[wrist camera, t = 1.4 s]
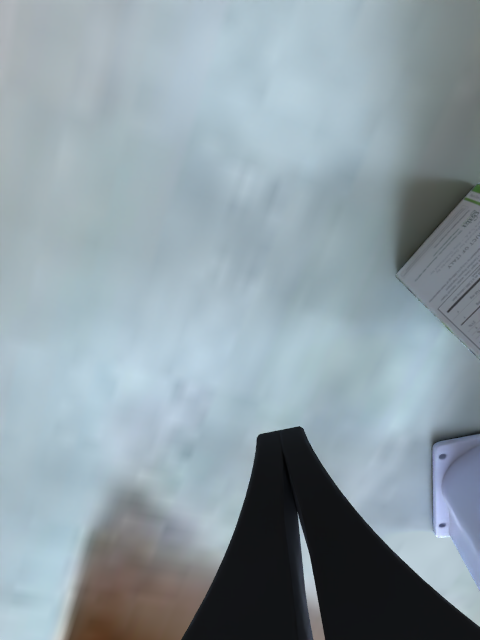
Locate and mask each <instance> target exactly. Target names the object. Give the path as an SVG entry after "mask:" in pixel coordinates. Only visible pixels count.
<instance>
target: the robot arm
mask: <svg viewBox="0 0 480 640" xmlns="http://www.w3.org/2000/svg"><path fill="white" fill-rule="evenodd" d="M440 454H441V455H440ZM432 455H433V531H434V533H435V535H436V536H437V537H440V538H442V537H448V536H450V537H451V539H452V540H453V542H454V544H455V546H456V548H457V550H458V552H459V553H460V555H461V557H462V559H463V561H464V563H465V565H466V567H467V568H468V570H469V572H470V574H471V576H472V578H473V580H474V581H475V583H476V585H477V587H478V589H479V591H480V434H476V435H471V436H465V437H460V438H455V439H450V440H444V441H439V442H437V443H435V444H434V446H433V448H432ZM297 512H298V514H297ZM298 515H299V519H300V522H301V526H302V529H303V533H304V536H305V540H306V543H307V547H308V550H309V554H310V558H311V564H312V569H313V575H314V580H315V585H316V591H317V596H318V602H319V607H320V613H321V618H322V624H323V630H324V635H325V640H480V627H479V626H478V625H476V624H475V623H474V622H473V621H471V620H470V619H469V618H468V617H466V616H465V615H464V614H463V613H461V612H460V611H459V610H458V609H457V608H455V607H454V606H453V605H452V604H451V603H449V602H448V601H447V600H446V599H445V598H443V597H442V596H441V595H440V594H439V593H438V592H437V591H435V590H434V589H433V588H432V587H431V586H430V585H429V584H427V583H426V582H425V581H424V580H423V579H422V578H421V577H420V576H419V575H418V574H417V573H415V572H414V571H413V570H412V569H411V568H410V567H409V566H408V565H407V564H406V563H405V562H404V561H403V560H402V559H401V558H400V557H399V556H398V555H397V554H396V553H394V552H393V551H392V550H391V549H390V548H389V547H388V545H387V544H386V543H385V542H384V541H383V540H382V539H381V538H380V537H379V536H378V535H377V534H376V533H375V532H374V531H373V529H372V528H371V527H370V526H369V525H368V524H367V523H366V522H365V521H364V519H363V518H362V517H361V516H360V515H359V514H358V512H357V511H356V510H355V509H354V508H353V506H352V505H351V504H350V503H349V501H348V500H347V499H346V497H345V496H344V495H343V494H342V492H341V491H340V490H339V488H338V487H337V486H336V484H335V483H334V481H333V480H332V479H331V477H330V476H329V474H328V473H327V471H326V470H325V468H324V467H323V465H322V464H321V462H320V461H319V459H318V457H317V456H316V454H315V452H314V451H313V449H312V447H311V445H310V443H309V441H308V439H307V437H306V434H305V432H304V429H303V428H301V427H300V426H299V427H294V428H289V429H284V430H279V431H273V432H268V433H263V434H260V435H259V436H258V437H257V445H256V453H255V459H254V464H253V469H252V474H251V478H250V482H249V486H248V489H247V493H246V497H245V500H244V503H243V507H242V510H241V513H240V516H239V519H238V522H237V525H236V528H235V531H234V533H233V536H232V539H231V541H230V544H229V546H228V549H227V551H226V553H225V556H224V558H223V560H222V563H221V565H220V567H219V569H218V571H217V573H216V576H215V578H214V580H213V582H212V584H211V586H210V588H209V590H208V592H207V594H206V596H205V598H204V600H203V602H202V604H201V605H200V607H199V609H198V611H197V613H196V614H195V616H194V618H193V620H192V622H191V624H190V625H189V627H188V629H187V631H186V632H185V634H184V636H183V638H182V639H181V640H313V636H312V630H311V625H310V619H309V613H308V608H307V601H306V593H305V584H304V574H303V564H302V554H301V544H300V534H299V524H298Z"/></svg>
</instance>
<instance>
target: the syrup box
mask: <svg viewBox="0 0 480 640" xmlns="http://www.w3.org/2000/svg"><path fill="white" fill-rule="evenodd" d="M396 278H397V279H398V280H399V281H400V282H401V283H403V284H404V286H405V287H406V288H407V289H408V290H409V291H410V292H411V293H412V294H413V295H414V296H415V297H416V298H417V299H418V300H419V301H420V302H421V303H422V304H423V305H424V306H425V307H426V308H427V309H428V310H430V311H431V313H432V314H433V315H434V316H435V317H436V318H437V319H438V320H439V321H440V322H441V323H442V324H443V325H444V326H445V327H446V328H447V329H448V330H449V331H450V332H451V333H452V334H454V335H455V336H456V337H457V338H458V339H459V340H460V341H461V342H462V343H463V344H464V345H465V346H466V347H467V348H468V349H469V350H470V351H471V352H472V353H473V354H474V355H475V356H476V357H477V358H478V359H479V360H480V183H479V184H477V185H476V186H474V187H473V188H472V190H471V191H470V192H469V193H468V194H467V195H466V196H465V197H464V198H463V200H462V201H461V202H460V203H459V204H458V205H457V206H456V207H455V208H454V210H453V211H452V212H451V213H450V214H449V215H448V216H447V217H446V219H445V220H444V221H443V222H442V223H441V224H440V225H439V226H438V227H437V228H436V230H435V231H434V232H433V233H432V234H431V235H430V236H429V238H428V239H427V240H426V241H425V242H424V243H423V244H422V245H421V246H420V248H419V249H418V250H417V251H416V252H415V253H414V255H413V256H412V257H411V258H410V259H409V260H408V261H407V263H406V264H405V265H404V266H403V267H402V268H401V269H400V270H399V272H398V273H397V274H396Z"/></svg>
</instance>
